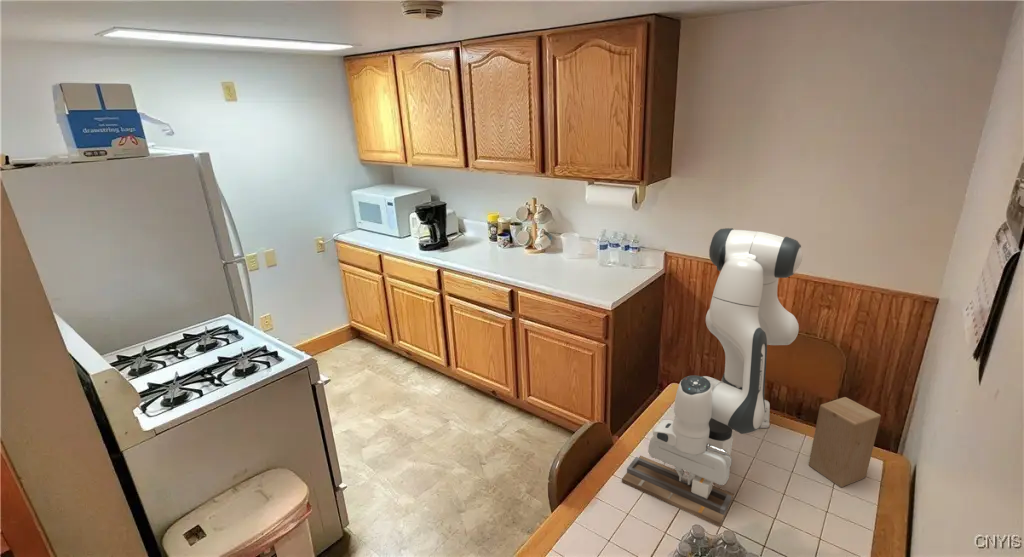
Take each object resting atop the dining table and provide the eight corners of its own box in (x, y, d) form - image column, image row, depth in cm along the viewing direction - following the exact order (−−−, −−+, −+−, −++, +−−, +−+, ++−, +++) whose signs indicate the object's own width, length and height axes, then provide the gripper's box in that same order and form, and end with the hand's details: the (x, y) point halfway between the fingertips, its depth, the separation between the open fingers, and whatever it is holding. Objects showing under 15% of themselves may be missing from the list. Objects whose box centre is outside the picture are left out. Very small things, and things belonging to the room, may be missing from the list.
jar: (715, 473, 139) (720, 437, 135) (691, 458, 145) (694, 422, 142) (734, 461, 144) (739, 425, 140) (710, 446, 150) (714, 412, 146)
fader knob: (695, 487, 132) (697, 470, 130) (711, 494, 130) (713, 476, 128) (690, 496, 129) (692, 479, 127) (706, 503, 127) (708, 485, 125)
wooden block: (841, 488, 132) (855, 424, 126) (807, 465, 141) (819, 404, 135) (866, 477, 136) (882, 414, 130) (832, 455, 145) (845, 395, 138)
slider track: (640, 458, 146) (640, 451, 145) (733, 497, 130) (734, 489, 129) (621, 482, 137) (622, 474, 136) (719, 526, 121) (721, 517, 120)
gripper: (736, 446, 123) (730, 491, 127) (657, 418, 135) (653, 460, 139) (728, 460, 118) (722, 506, 123) (647, 429, 130) (644, 472, 135)
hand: (685, 481), depth 131 cm, fingers closed
